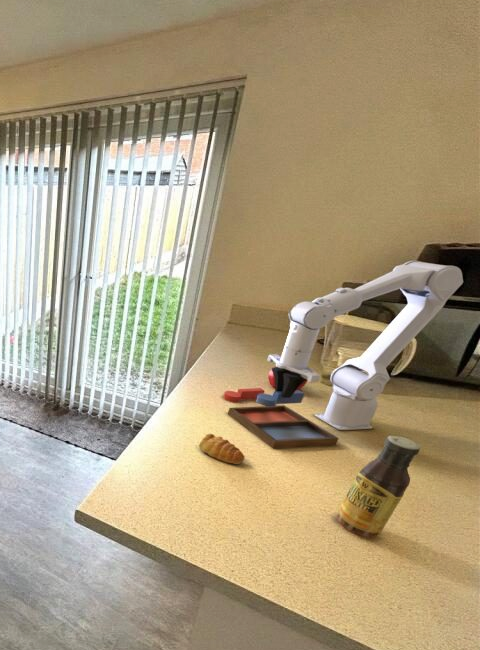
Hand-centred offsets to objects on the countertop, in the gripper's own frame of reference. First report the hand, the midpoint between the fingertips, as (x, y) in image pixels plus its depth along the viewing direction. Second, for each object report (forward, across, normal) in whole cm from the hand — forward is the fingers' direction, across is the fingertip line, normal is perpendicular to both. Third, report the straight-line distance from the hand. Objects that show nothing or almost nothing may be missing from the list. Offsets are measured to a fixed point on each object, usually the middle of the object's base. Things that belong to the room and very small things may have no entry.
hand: (282, 394), depth 107 cm
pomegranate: (+9, -20, +19) cm, 29 cm away
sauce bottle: (+9, +38, -13) cm, 41 cm away
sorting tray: (+8, +4, -2) cm, 9 cm away
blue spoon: (+2, 0, -1) cm, 2 cm away
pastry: (+9, +13, -25) cm, 29 cm away
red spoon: (+8, -14, 0) cm, 16 cm away
